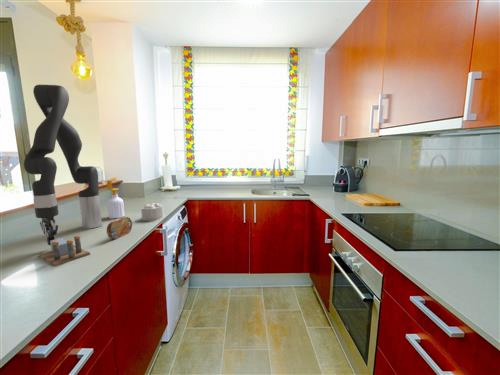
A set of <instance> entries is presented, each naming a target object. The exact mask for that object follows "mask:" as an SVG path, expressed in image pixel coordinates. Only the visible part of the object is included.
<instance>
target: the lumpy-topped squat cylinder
mask: <svg viewBox="0 0 500 375" xmlns="http://www.w3.org/2000/svg"><path fill="white" fill-rule="evenodd" d="M162 218H163V205H162V204H161V203H159V202H157V203H155V202H153V203H151V204H150V203H145V205H144V206H142V207H141V220H142V221H149V222H150V221H151V222H152V221H153V222H154V221H157V220H160V219H162Z"/></svg>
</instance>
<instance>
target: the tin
mask: <svg viewBox="0 0 500 375" xmlns="http://www.w3.org/2000/svg"><path fill="white" fill-rule="evenodd" d="M106 226H107V227H106V234H107V236H108V238H110V239H116V240H117V239H119V238H122V237H124V236H125V235H127V234H129V233H130V232H131V230H132V227H133V222H132V219H131V218H130V217H128V216H124V217H121V218H116V219H115V220H113V221H110V222H109V223H108V224H107V225H106Z"/></svg>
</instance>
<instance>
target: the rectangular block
mask: <svg viewBox="0 0 500 375" xmlns="http://www.w3.org/2000/svg"><path fill="white" fill-rule="evenodd" d="M54 241H58V242H59V244H58V245H59V252H60V256H63V255H66V254H68V246H67V239H65V238H62V237H61V238H60V237H59V238H55V240H51V241H50V244H51V245H50V251H52V252H53V246H52V242H54Z"/></svg>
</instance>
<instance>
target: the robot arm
mask: <svg viewBox="0 0 500 375" xmlns="http://www.w3.org/2000/svg"><path fill="white" fill-rule="evenodd" d="M32 93H33V96H34V99H35V102H36V103H37V105H38V107H39V109H40V111H41V112H42V114H43V115H44V117H45V119H43V121H42V122H41V123H40V124H39V125H38V126H37V127H36V129H35V132H34V138H33V142H32V143H33V144H32V147H30V149H29V151H28V153H27V155H26V156H25V158H24V161H23V167H24V168H23V169H24V170H25V172H26V173H28V174H29V175H40V179H37V180H35V181H32V183H31V185H32V186H31V187H32V188H31V189H32V195H33V208H34V214H35V217H36V218H37V219H41V221H39V225H40V227H41V230H42V232H43V234H44V235H45V237H46V242H47V245H48V246H51V244H50V241H51V240H55V239H56V238H55V236H57V233H58V229H59V225H58V224H57V221H56V219H55V218H54V217H57V216H58V215H59V213H60V212H59V207H58V200H57V196H56V191H55V181H56V175H57V171H58V169H57V168H58V167H57V166H58V165H57V163H56V161H55V160H54V159H53V158H52V157H48V156H47V155H49V154H52V153H54V151H55V148H56V142H57V144H58V145H59V148H60V149H61V152H62V154H63V155H64V156H63V157H64V159H65V160H66V163H67V166H68V169H69V172H70V174H71V177H72V179H73V181H74V182H75V183H76V184H79V185H80V184H81V185H82V184H86V185H87V184H88V185H87V187H86V188H85V189H82V190H79V191H78V201H79V210H80V215H81V216H80V218H81V225H82V228H83V229H87V230H88V229H94V228H98V227H101V226H103V222H102V221H103V220H102V211H101V210H102V209H101V203H100V201H101V200H100V194H99V193H100V192H99V190H100V187H99V171H98V170H97V168H96V167H95V166H93V165H92V166H91V165H89V166H87V165H86V166H81V165H80V163H79V156H80V153H81V151H82V147H83V141H82V140H81V137H80V135H79V133H78V130H77V129H76V128H75V127H74V126H72V124H71V123H69V122H68V121H67V120H66V119H65V118H64V117H65V114H66V111H67V109H68V106H69V102H70V96H69V93H68V91H67V89H66V88H65V87H64V86H62V85H57V84H36V85H35V86H34V87H33V92H32Z"/></svg>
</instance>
